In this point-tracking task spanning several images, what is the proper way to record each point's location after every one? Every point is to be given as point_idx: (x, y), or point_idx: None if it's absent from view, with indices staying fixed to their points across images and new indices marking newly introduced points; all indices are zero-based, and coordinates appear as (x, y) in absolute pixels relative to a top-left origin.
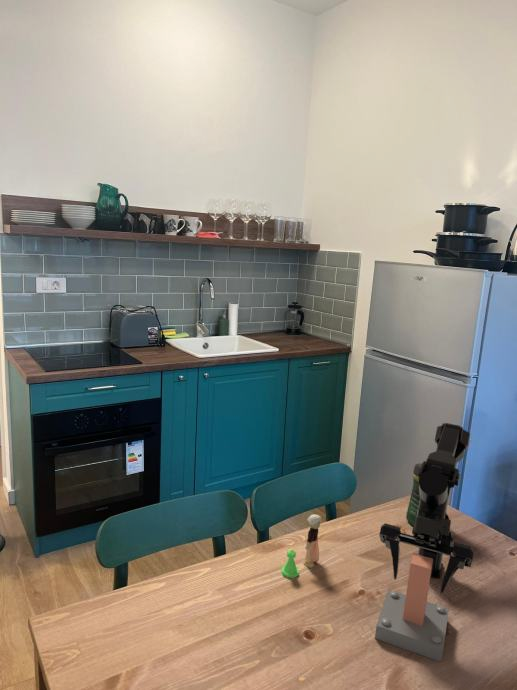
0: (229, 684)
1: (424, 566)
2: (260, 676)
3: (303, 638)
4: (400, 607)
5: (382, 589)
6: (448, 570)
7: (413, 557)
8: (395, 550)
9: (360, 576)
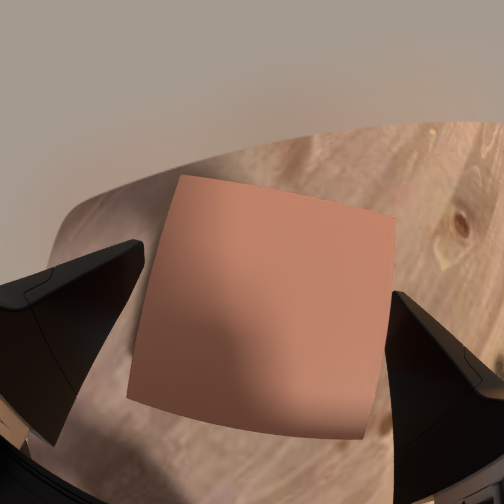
0: (480, 122)
1: (249, 194)
2: (468, 132)
3: (464, 212)
4: None
5: (330, 461)
6: (38, 289)
7: (371, 347)
8: (494, 391)
9: (382, 479)
